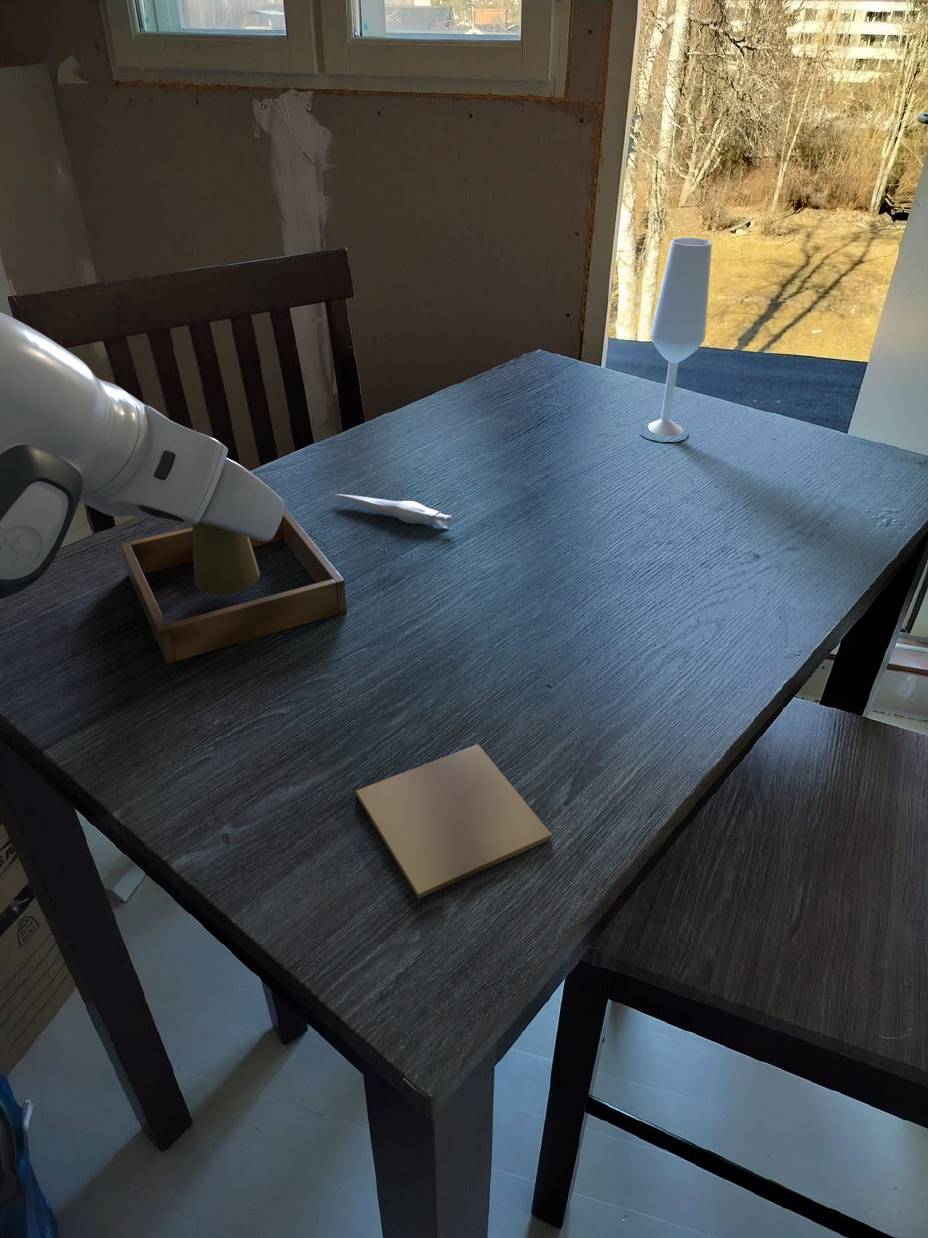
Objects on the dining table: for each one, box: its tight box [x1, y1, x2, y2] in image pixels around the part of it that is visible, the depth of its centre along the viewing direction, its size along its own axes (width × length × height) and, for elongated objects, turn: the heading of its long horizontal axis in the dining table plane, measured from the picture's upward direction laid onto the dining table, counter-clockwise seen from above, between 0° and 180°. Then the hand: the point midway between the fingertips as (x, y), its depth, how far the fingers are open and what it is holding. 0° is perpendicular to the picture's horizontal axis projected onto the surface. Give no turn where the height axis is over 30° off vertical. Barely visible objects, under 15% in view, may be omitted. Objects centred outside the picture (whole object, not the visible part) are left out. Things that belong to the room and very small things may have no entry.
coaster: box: [355, 744, 552, 900], centre depth 59 cm, size 10×10×1 cm
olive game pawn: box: [191, 522, 261, 596], centre depth 77 cm, size 6×6×11 cm
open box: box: [120, 507, 348, 665], centre depth 81 cm, size 17×17×4 cm
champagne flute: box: [648, 237, 713, 436], centre depth 108 cm, size 7×7×24 cm
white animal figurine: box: [334, 493, 454, 530], centre depth 94 cm, size 15×3×2 cm, turn 65°
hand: (223, 518), depth 78 cm, fingers closed on olive game pawn, 4 cm apart
